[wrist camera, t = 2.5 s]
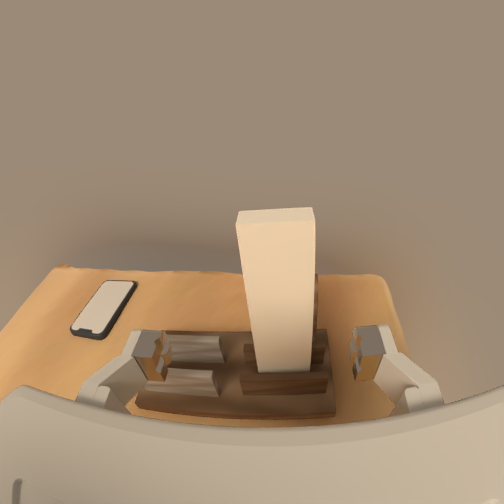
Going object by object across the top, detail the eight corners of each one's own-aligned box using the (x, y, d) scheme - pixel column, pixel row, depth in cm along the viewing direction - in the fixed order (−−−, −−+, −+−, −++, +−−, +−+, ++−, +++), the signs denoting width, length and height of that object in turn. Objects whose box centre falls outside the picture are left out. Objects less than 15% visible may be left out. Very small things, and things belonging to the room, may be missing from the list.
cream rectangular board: (308, 383, 34) (315, 220, 22) (260, 384, 34) (235, 224, 23) (308, 368, 36) (311, 207, 24) (261, 369, 36) (239, 211, 25)
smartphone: (107, 285, 59) (70, 336, 46) (104, 279, 58) (66, 330, 45) (140, 286, 58) (105, 342, 44) (137, 280, 57) (101, 336, 44)
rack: (334, 416, 30) (341, 392, 27) (139, 408, 33) (120, 384, 30) (325, 335, 42) (328, 306, 39) (164, 336, 45) (152, 309, 41)
